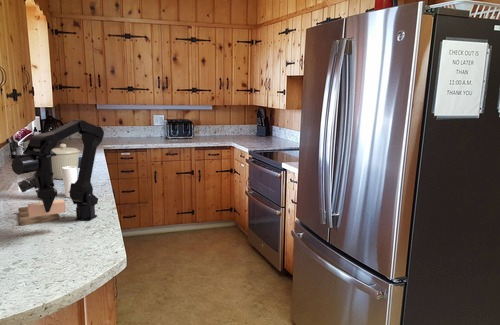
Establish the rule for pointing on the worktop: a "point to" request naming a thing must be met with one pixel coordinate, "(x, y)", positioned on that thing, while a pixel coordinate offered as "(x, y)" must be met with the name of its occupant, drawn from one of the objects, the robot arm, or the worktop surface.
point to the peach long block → (39, 208)
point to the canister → (64, 159)
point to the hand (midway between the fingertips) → (47, 210)
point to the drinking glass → (69, 178)
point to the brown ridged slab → (37, 219)
